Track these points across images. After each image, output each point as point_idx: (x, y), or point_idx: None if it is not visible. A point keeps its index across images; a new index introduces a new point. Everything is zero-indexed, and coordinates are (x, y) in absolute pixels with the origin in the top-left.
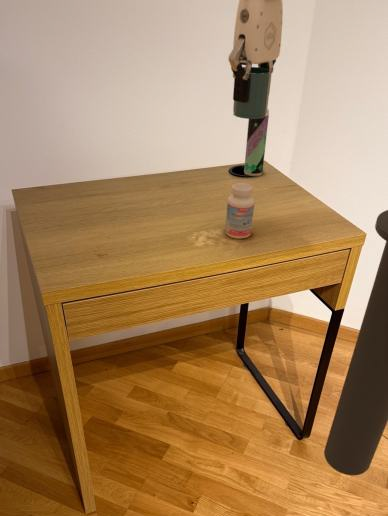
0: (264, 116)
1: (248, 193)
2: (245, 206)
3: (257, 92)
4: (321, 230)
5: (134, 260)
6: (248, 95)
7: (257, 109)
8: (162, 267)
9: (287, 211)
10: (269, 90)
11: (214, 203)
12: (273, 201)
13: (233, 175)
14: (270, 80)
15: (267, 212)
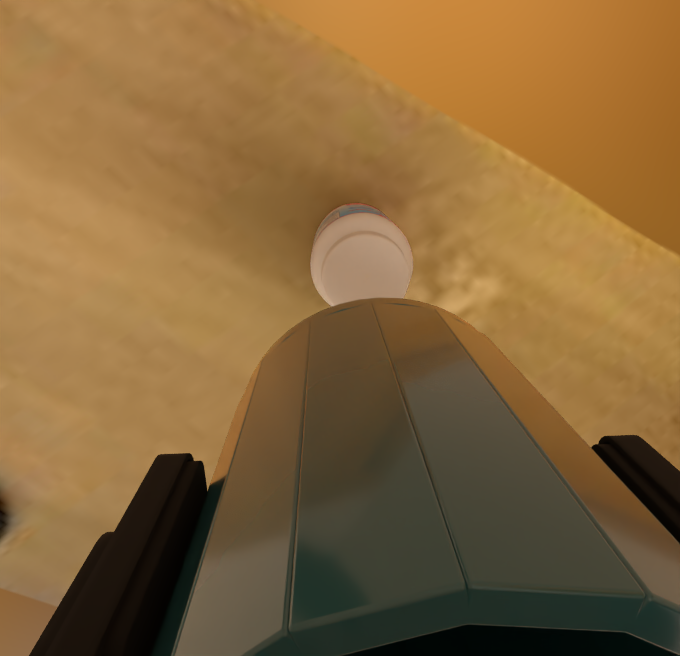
0: (366, 300)
1: (378, 234)
2: (393, 223)
3: (571, 431)
4: (119, 30)
5: (664, 351)
6: (648, 470)
7: (483, 342)
8: (658, 274)
9: (88, 219)
10: (144, 483)
11: (230, 425)
12: (61, 303)
13: (5, 516)
14: (98, 574)
15: (151, 266)
